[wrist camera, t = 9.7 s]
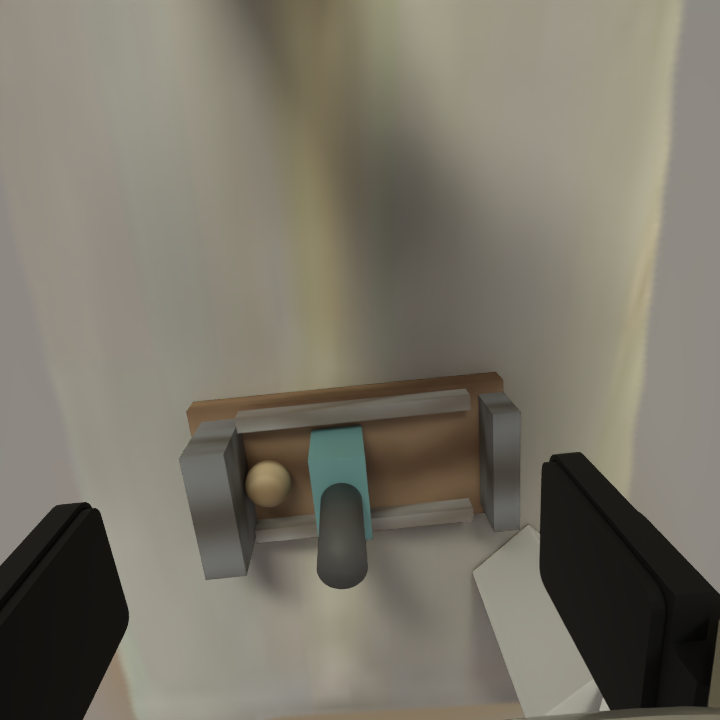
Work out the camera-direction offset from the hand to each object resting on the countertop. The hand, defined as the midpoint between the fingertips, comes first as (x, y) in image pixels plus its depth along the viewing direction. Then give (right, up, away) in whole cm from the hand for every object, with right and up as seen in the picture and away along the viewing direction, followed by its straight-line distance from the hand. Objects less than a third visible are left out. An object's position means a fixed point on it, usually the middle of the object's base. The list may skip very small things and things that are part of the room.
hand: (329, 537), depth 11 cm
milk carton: (+16, -16, +38) cm, 44 cm away
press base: (0, -4, +33) cm, 33 cm away
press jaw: (-1, -5, +31) cm, 31 cm away
